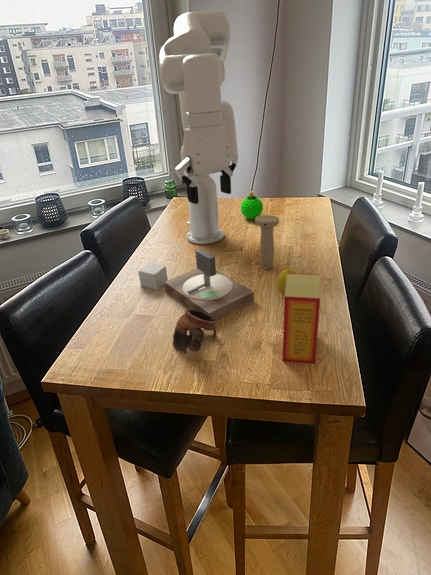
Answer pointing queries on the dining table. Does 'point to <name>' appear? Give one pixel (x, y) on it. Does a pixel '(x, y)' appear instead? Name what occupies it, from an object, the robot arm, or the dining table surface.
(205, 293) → the dial
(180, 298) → the board
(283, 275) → the lemon
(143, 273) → the small box
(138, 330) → the dining table surface
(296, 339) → the baking soda box
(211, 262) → the grey block with rod
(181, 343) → the broken clay pot
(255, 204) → the ornament
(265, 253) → the handle
